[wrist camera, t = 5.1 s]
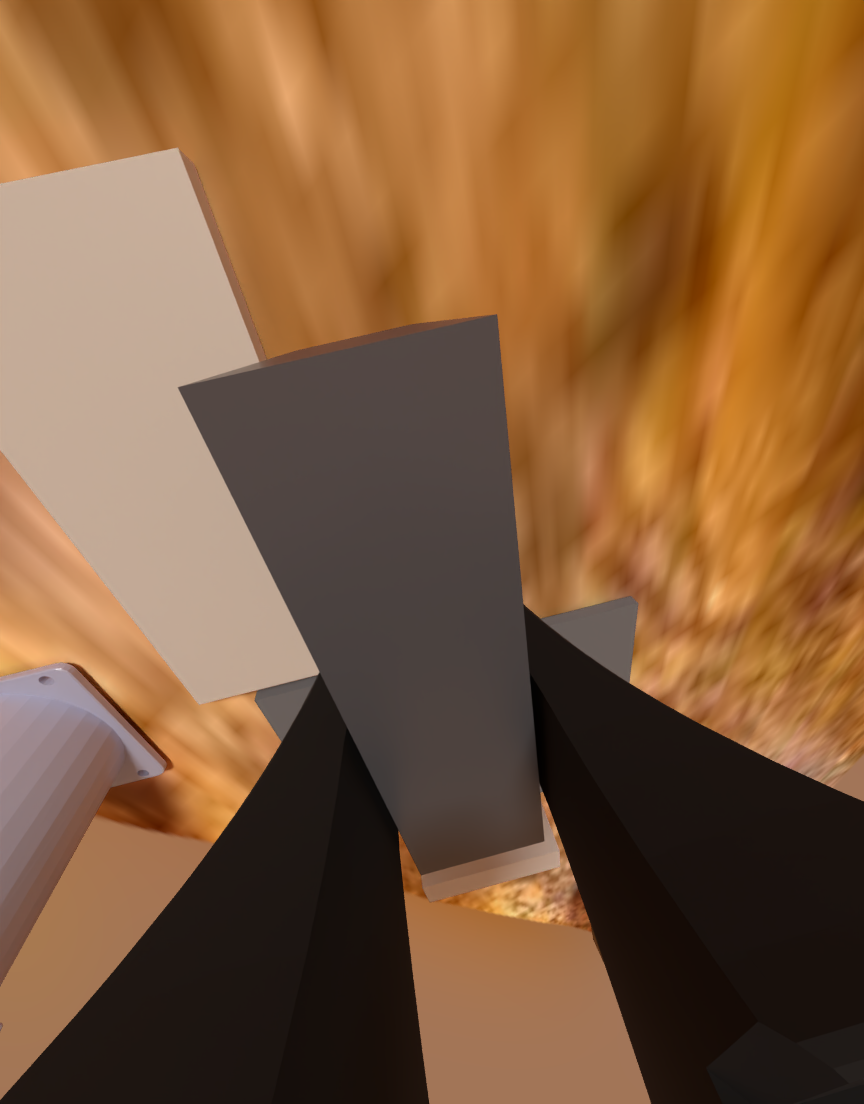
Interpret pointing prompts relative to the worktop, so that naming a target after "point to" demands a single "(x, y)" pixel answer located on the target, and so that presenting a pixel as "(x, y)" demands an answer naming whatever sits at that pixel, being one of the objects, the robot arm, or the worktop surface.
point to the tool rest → (138, 408)
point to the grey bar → (398, 563)
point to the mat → (589, 629)
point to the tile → (494, 868)
